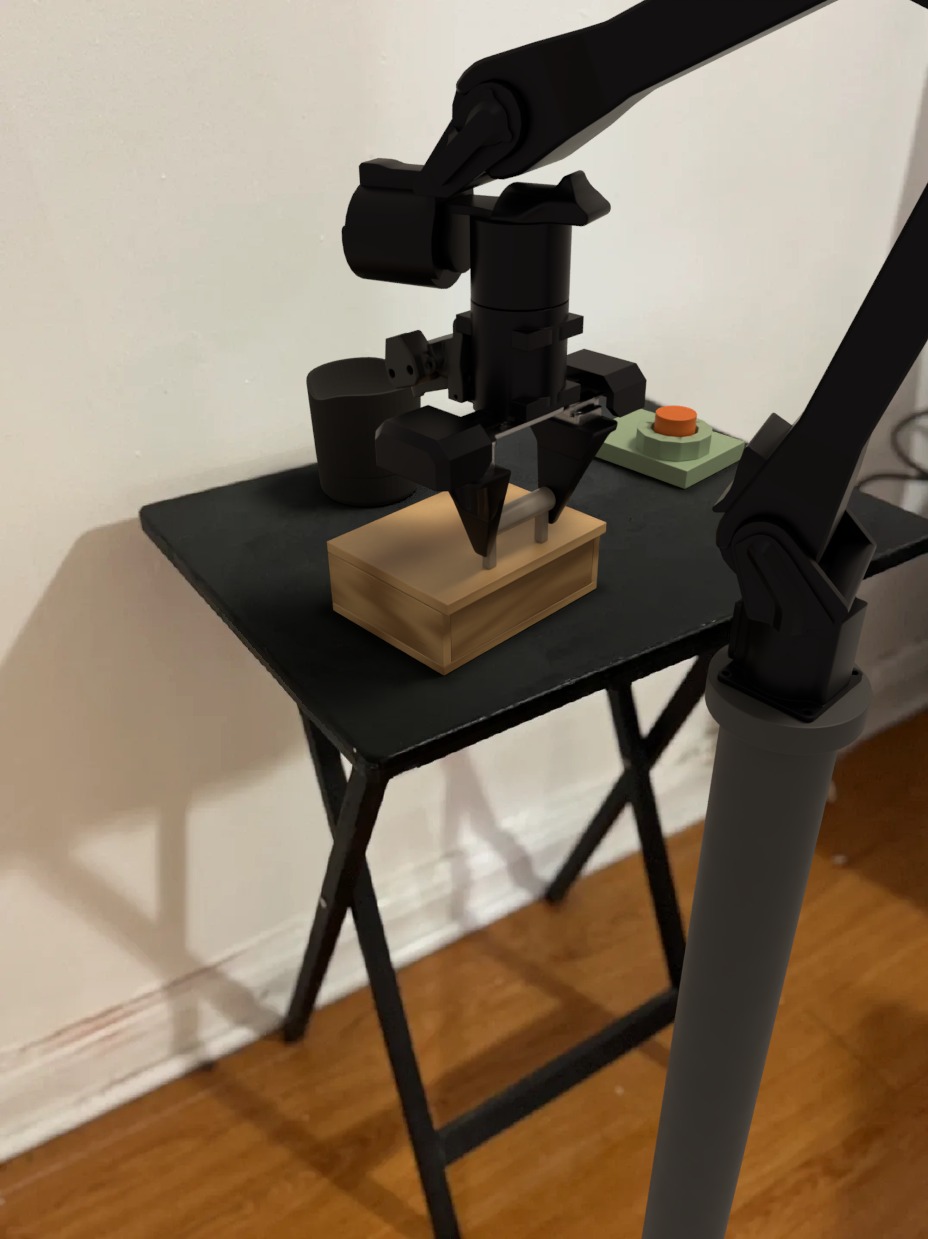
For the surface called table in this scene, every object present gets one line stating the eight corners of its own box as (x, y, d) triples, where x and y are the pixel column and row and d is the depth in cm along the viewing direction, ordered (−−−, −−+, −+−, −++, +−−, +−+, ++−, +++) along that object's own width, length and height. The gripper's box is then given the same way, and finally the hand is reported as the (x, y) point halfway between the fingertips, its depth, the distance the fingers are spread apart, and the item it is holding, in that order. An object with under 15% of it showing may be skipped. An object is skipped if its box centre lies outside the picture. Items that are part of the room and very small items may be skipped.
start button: (703, 431, 93) (705, 412, 92) (679, 442, 91) (681, 423, 90) (669, 420, 95) (671, 402, 94) (645, 431, 93) (647, 412, 92)
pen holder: (429, 465, 95) (426, 357, 89) (418, 511, 87) (414, 396, 82) (327, 463, 95) (317, 356, 90) (307, 509, 88) (295, 395, 82)
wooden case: (596, 588, 76) (600, 531, 74) (443, 676, 67) (442, 614, 64) (485, 537, 83) (485, 483, 80) (332, 610, 74) (327, 552, 71)
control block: (742, 458, 95) (748, 422, 93) (685, 489, 90) (689, 451, 88) (637, 424, 103) (640, 390, 101) (578, 450, 97) (579, 415, 95)
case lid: (606, 532, 73) (610, 472, 71) (447, 616, 64) (446, 550, 62) (485, 482, 80) (485, 426, 78) (327, 551, 71) (321, 490, 69)
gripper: (526, 247, 71) (522, 461, 79) (304, 305, 60) (328, 545, 68) (660, 276, 64) (641, 506, 72) (438, 346, 53) (446, 608, 61)
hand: (516, 537), depth 69 cm, fingers closed on case lid, 6 cm apart
